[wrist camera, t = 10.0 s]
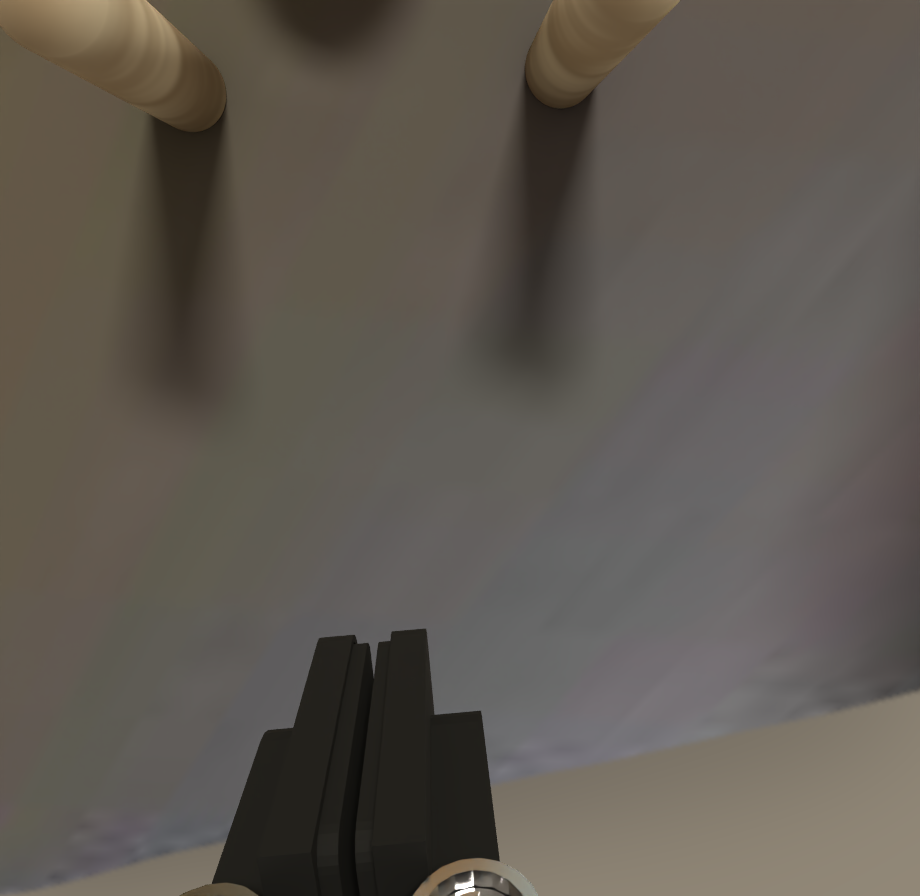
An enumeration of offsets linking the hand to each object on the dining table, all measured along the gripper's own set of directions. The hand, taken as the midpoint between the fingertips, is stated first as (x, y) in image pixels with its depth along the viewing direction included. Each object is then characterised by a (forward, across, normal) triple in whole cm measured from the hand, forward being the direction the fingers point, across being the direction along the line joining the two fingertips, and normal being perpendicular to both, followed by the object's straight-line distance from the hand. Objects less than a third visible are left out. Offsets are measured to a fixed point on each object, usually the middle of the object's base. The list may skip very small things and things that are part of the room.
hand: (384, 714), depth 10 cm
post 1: (+17, +7, -13) cm, 22 cm away
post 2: (+17, -7, -13) cm, 22 cm away
